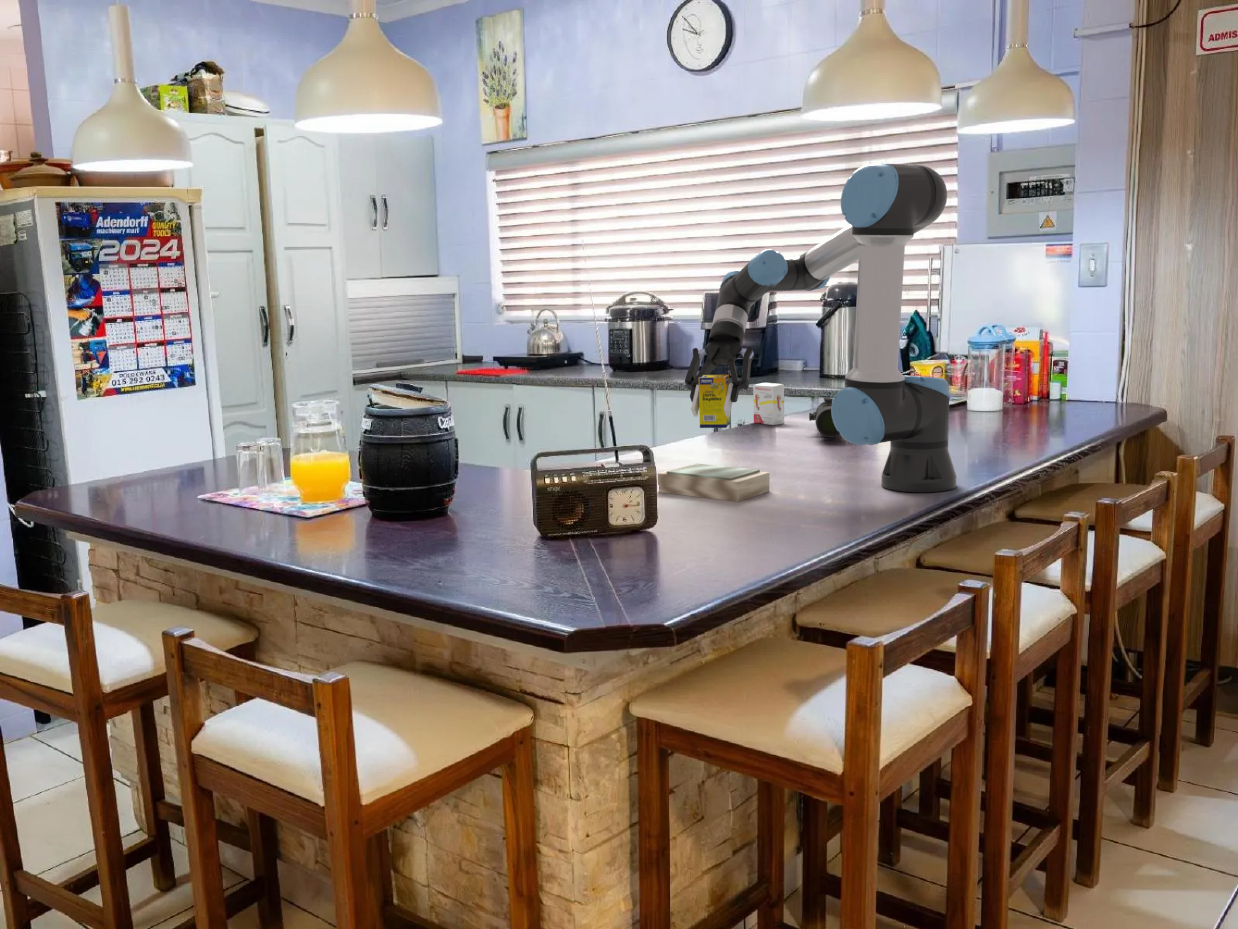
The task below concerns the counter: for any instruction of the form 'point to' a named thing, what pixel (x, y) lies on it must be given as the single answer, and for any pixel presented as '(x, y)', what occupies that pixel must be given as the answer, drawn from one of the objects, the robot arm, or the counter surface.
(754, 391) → the ink box
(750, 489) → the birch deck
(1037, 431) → the counter surface
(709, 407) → the supplement box
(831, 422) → the rifle scope
